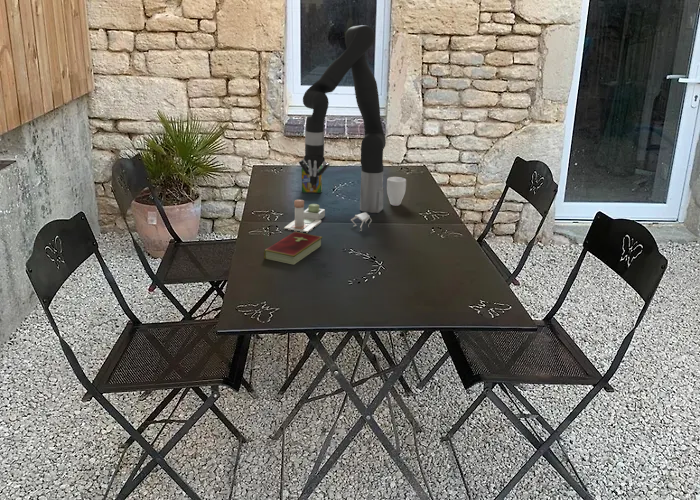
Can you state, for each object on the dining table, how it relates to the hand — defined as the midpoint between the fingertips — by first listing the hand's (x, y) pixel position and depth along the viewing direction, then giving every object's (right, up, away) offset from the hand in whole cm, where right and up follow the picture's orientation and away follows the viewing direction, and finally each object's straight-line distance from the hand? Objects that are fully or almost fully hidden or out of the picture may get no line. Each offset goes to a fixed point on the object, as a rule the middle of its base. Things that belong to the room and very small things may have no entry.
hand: (313, 184), depth 270 cm
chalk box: (-3, +1, +41) cm, 42 cm away
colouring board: (-4, -17, -5) cm, 18 cm away
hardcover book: (-5, -28, -31) cm, 42 cm away
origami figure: (+19, -18, -5) cm, 27 cm away
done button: (0, -11, +4) cm, 12 cm away
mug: (+35, -6, +27) cm, 45 cm away
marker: (-5, -17, -8) cm, 20 cm away
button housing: (0, -13, +5) cm, 14 cm away
